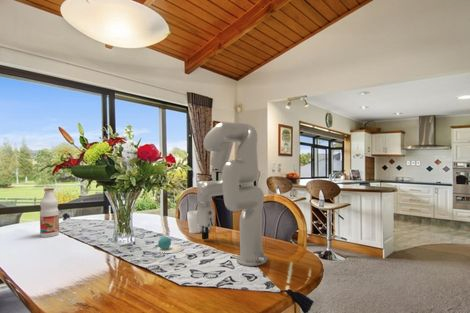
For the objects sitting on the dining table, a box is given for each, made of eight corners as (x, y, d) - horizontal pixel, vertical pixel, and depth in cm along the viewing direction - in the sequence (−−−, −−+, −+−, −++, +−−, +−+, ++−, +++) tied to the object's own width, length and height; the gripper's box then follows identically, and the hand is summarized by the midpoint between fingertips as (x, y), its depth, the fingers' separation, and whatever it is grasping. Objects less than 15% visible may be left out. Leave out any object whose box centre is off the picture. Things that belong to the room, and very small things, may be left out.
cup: (195, 234, 164) (194, 213, 164) (184, 232, 170) (183, 212, 170) (205, 231, 171) (205, 211, 172) (195, 229, 177) (194, 209, 177)
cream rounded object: (189, 249, 138) (189, 249, 138) (164, 255, 129) (164, 255, 129) (176, 243, 148) (176, 243, 148) (152, 249, 139) (152, 248, 139)
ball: (174, 238, 139) (162, 236, 136) (171, 250, 137) (159, 249, 134) (169, 236, 144) (158, 235, 141) (166, 249, 142) (155, 247, 139)
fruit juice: (62, 234, 172) (61, 187, 172) (46, 238, 163) (45, 189, 163) (53, 232, 176) (52, 187, 176) (36, 236, 168) (36, 188, 168)
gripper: (218, 205, 148) (219, 240, 148) (202, 202, 160) (203, 234, 159) (206, 206, 143) (207, 243, 143) (191, 203, 155) (191, 237, 155)
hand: (205, 238), depth 151 cm, fingers closed
